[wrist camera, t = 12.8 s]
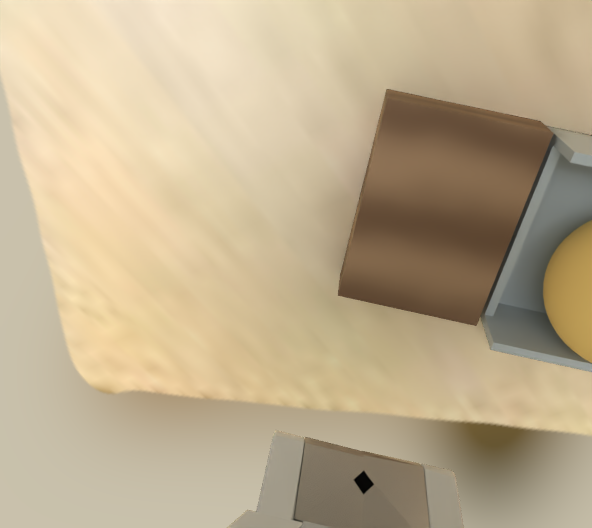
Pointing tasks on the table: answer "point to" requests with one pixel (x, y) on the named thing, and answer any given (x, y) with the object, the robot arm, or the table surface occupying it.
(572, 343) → the ball
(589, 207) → the tray
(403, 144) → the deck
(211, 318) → the table surface
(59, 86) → the table surface
